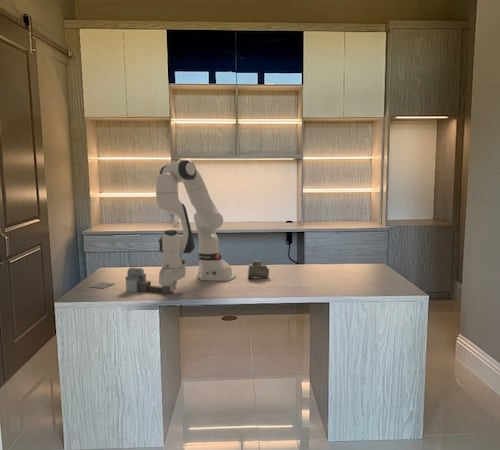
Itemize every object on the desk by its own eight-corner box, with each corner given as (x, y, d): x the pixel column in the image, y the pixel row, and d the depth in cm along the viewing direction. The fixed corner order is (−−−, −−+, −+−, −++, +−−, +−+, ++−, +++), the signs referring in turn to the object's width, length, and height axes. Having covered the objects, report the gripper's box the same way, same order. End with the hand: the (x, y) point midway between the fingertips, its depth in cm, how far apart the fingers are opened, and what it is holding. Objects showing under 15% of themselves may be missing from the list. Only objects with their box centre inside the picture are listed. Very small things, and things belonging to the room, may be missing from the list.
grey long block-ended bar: (173, 291, 225) (173, 283, 224) (169, 294, 221) (168, 285, 220) (140, 288, 232) (140, 280, 231) (135, 290, 228) (134, 282, 227)
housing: (146, 287, 234) (145, 266, 232) (136, 292, 225) (135, 270, 224) (136, 286, 236) (135, 265, 234) (126, 291, 227) (125, 269, 226)
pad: (114, 284, 241) (114, 283, 241) (103, 288, 233) (103, 287, 233) (101, 283, 244) (101, 282, 244) (89, 287, 236) (89, 286, 236)
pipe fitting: (247, 279, 247) (249, 261, 247) (246, 276, 255) (248, 259, 255) (268, 281, 247) (270, 263, 247) (267, 278, 255) (269, 261, 255)
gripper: (166, 268, 210) (167, 296, 212) (187, 259, 229) (188, 285, 231) (155, 267, 212) (156, 295, 214) (176, 258, 231) (177, 284, 233)
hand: (172, 290), depth 222 cm, fingers closed, pressing on grey long block-ended bar
